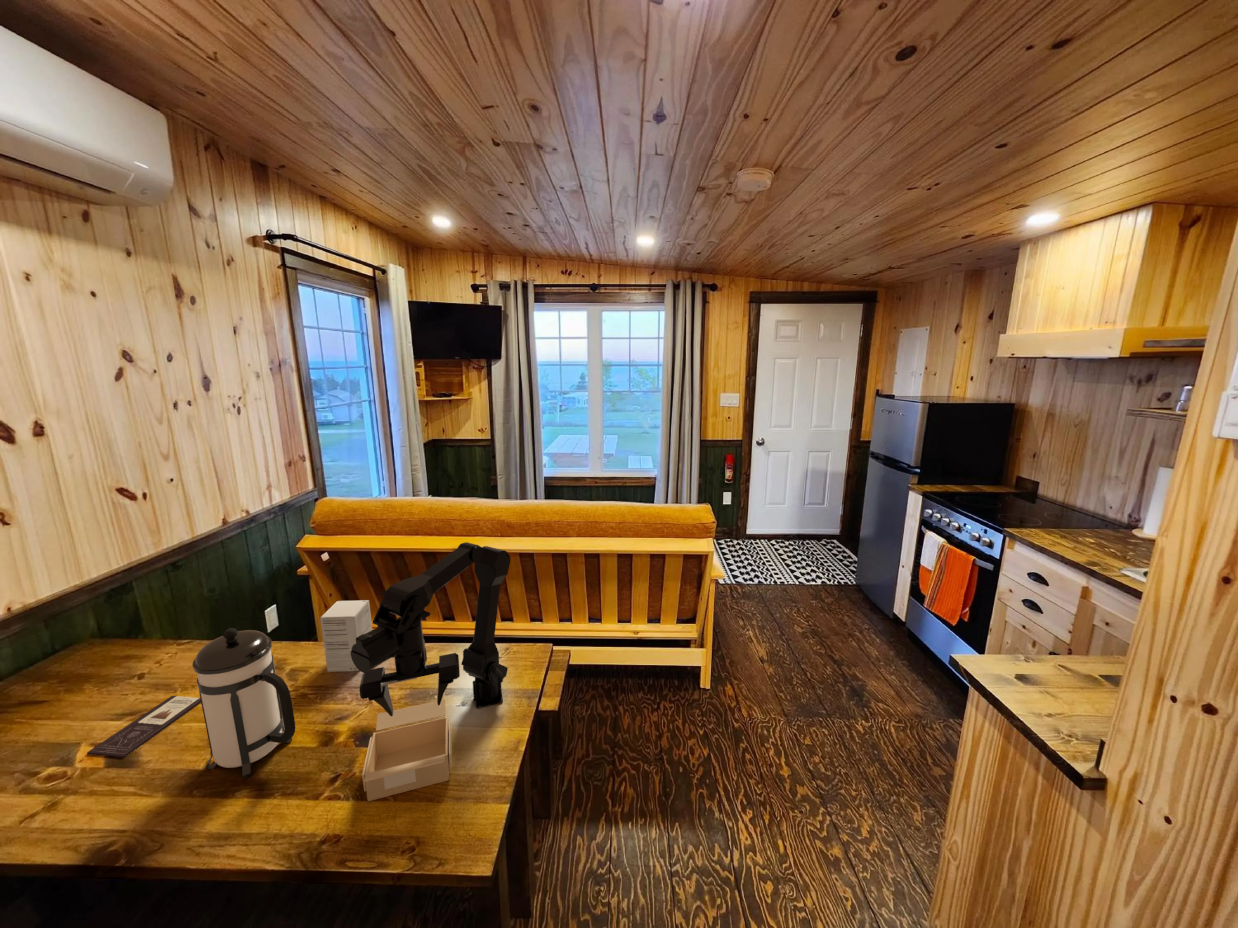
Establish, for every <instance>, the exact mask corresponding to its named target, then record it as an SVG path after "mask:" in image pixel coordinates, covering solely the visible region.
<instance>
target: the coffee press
mask: <svg viewBox="0 0 1238 928" xmlns="http://www.w3.org/2000/svg"><path fill="white" fill-rule="evenodd" d="M272 647H273V641H272V638H271V637H270V636H268V635H266V634H265V633H264V632H262V631H259V630H253V629H246V630H237V629H236V628H234V627H233V628H232V627H231V628H227V629H226V630H225V631H224V632H223V635H221V636H219V637H217V638H215V639H213V640H211V641H209V642H208V643H206V644H205V645H204V646H202V647H201V649H200V650H199V651H198V652H197V654H196V656H195V658H194V659H193V661H192V670H193V671H194V672H195V673H196V675H197V678H196V685H197V688H198V693H199V698H200V699H201V703H200V704H201V709H202V712H203V718H204V719H203V720H204V723H205V728H206V733H207V739H208V744H209V748H210V749H209V750H210V755H211V756H210V757H209V758H208V760H207V762H206V765H205V768H206V770H212V769H214V768H216V766H217V765H218V766H220V767H223V768H228V769H229V768H231V769H232V768H238V767H241V768H242V770H241V771H242V774H241V775H242V778H243V779H244V778H247V777H250V776H252V775H253V763H255V762H256V761H259V760H261V759H262V758H264V757H265V756H266V755H267V756H268V754H270V752H272V751H273V750H274V749H275V748H276V747H277V746H278V745H279V744H283V743H284V744H290V743H291V742H292V741H293V736H294V735H295V733H296V722H295V721H296V720H295V715H294V708H293V702H292V697H291V696H292V695H291V692H290V689H289V687H288V685H287V683H286V681H285V680H284V679H283V678H282V677H281V676H279V675H278V674H277V672H276V667H275V660H274V655H273V653H272V650H271V649H272ZM212 759H213V760H214V763H212V764H210V762H211V761H212Z"/></svg>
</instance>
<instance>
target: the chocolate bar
mask: <svg viewBox="0 0 1238 928" xmlns="http://www.w3.org/2000/svg"><path fill="white" fill-rule="evenodd" d="M200 704H201V699H200V697H193V696H181V695H180V696H177V695H170V696H169V697H167V699H165V700H162V702H160V703H158V705H156V706H155V707H153V708H152V709H150V710H148V711H147V712H146V713H144V714H142V715H141V716H140V717H138V718H136V719H135V720H133V721H132V722H131V723H129V724H127V725H126V726H125V727H123V728H121V729H120V730H117V732H116V733H114V734H113V735H111V736H109V737H108V738H106V739H105V740H104V741H102V742H101V743H99V744H97V745H96V746H94V747H93V748H92V749H90V750H88V751H87V752H86V755H87V754H94V755H93V756H98V755H105V756H104V757H108V756H115V757H114V758H119V757H124V758H123V759H125V758H127V757H128V756H129V755H131V754H132V753H134V752H135V751H136V750H138V749H139V748H140V747H139V746H141V745H142V746H143V745H145V744H146V743H147V742H149V741H150V740H152V739H153V738H154V737H156V736H158V735H159V734H160V733H161V732H163V731H164V730H166V729H167V728H168V727H170V726H171V725H172V724H173V723H175V722H176V721H178V720H179V719H181V718H183V716H185V715H186V714H189V712H190V711H192V710H193V709H195V708H196V707H197V706H198V705H200ZM145 742H146V743H145ZM144 743H145V744H144ZM142 746H141V747H142ZM138 747H139V748H138ZM137 748H138V749H137ZM135 749H136V750H135ZM134 750H135V751H134ZM133 751H134V752H133ZM131 752H132V753H131ZM130 753H131V754H130ZM95 754H96V755H95ZM128 754H129V755H128ZM127 755H128V756H127ZM117 756H118V757H117ZM126 756H127V757H126Z"/></svg>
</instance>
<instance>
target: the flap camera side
mask: <svg viewBox="0 0 1238 928" xmlns="http://www.w3.org/2000/svg"><path fill="white" fill-rule="evenodd" d="M444 759H445V755H442V756H437V757H433V758H429V759H425V760H421V761H417V762H413V763H409V764H405V765H401V766H397V767H393V768H389V769H385V770H381V771H377V772H373V773H369V774H367V775H366V777H365V779H364V780H363V779H362V783H363V782H367V781H371V780H375V779H379V778H383V777H387V776H391V775H395V774H399V773H403V772H407V771H410V770H414V769H418V768H422V767H426V766H430V765H434V764H438V763H442V762H444Z"/></svg>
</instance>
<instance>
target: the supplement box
mask: <svg viewBox="0 0 1238 928" xmlns="http://www.w3.org/2000/svg"><path fill="white" fill-rule="evenodd" d="M319 619H320V627H321V634H322V641H323V649H324V656H325V663H326V668H327V672H328V673H332V672H333V673H334V672H358V671H359V670H358V669H357V668H356V666H355V665H354V663H353V661H352V658H351V653H350V652H351V650H352V646H353V645H354V644H356V638H357V637H358V636H360V635H362V634H366V633H368V632H370V631H371V630H373V623H372V615H371V605H370V600H369V599H368V600H367V599H366V600H365V599H364V600H363V599H360V600H337V601H336V602H334V604H332V605H331V607H329V608H328V609H327V611H326V612H324V613H323V615H321V616H320V617H319Z"/></svg>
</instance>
